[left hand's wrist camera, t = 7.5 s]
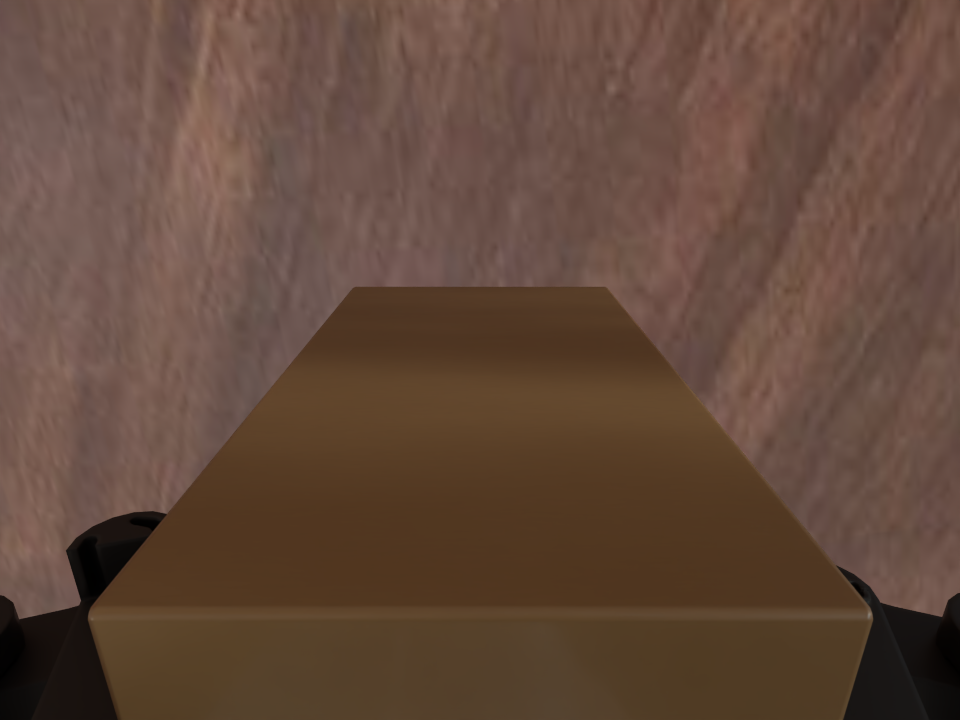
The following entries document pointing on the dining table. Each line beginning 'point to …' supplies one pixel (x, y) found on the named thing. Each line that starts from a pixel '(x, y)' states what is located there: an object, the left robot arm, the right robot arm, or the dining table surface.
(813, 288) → the dining table surface
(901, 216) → the dining table surface
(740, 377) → the dining table surface
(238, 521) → the box
